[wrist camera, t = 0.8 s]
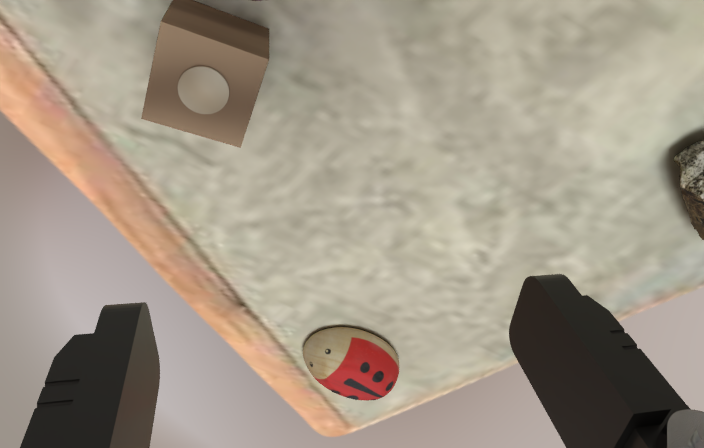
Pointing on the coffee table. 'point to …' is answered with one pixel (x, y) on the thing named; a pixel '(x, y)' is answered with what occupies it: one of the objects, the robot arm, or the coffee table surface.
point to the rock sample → (693, 183)
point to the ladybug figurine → (352, 363)
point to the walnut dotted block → (206, 72)
